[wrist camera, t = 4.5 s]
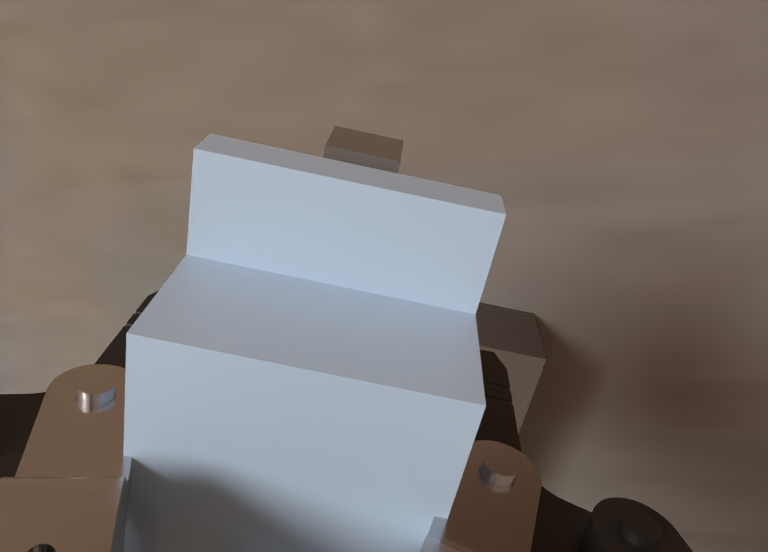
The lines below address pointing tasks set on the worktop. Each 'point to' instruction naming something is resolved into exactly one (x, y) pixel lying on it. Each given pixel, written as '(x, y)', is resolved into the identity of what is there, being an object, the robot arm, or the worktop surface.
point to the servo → (309, 354)
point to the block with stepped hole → (513, 350)
